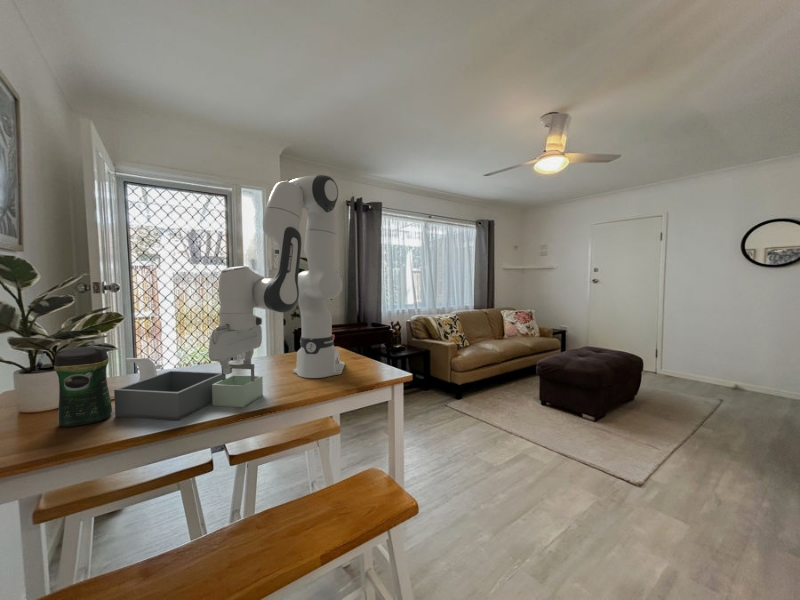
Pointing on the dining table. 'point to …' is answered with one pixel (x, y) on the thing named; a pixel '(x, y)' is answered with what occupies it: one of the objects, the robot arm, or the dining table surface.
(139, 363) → the white curved piece
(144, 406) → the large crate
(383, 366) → the dining table surface
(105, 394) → the coffee jar
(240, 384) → the box
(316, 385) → the dining table surface
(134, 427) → the dining table surface
